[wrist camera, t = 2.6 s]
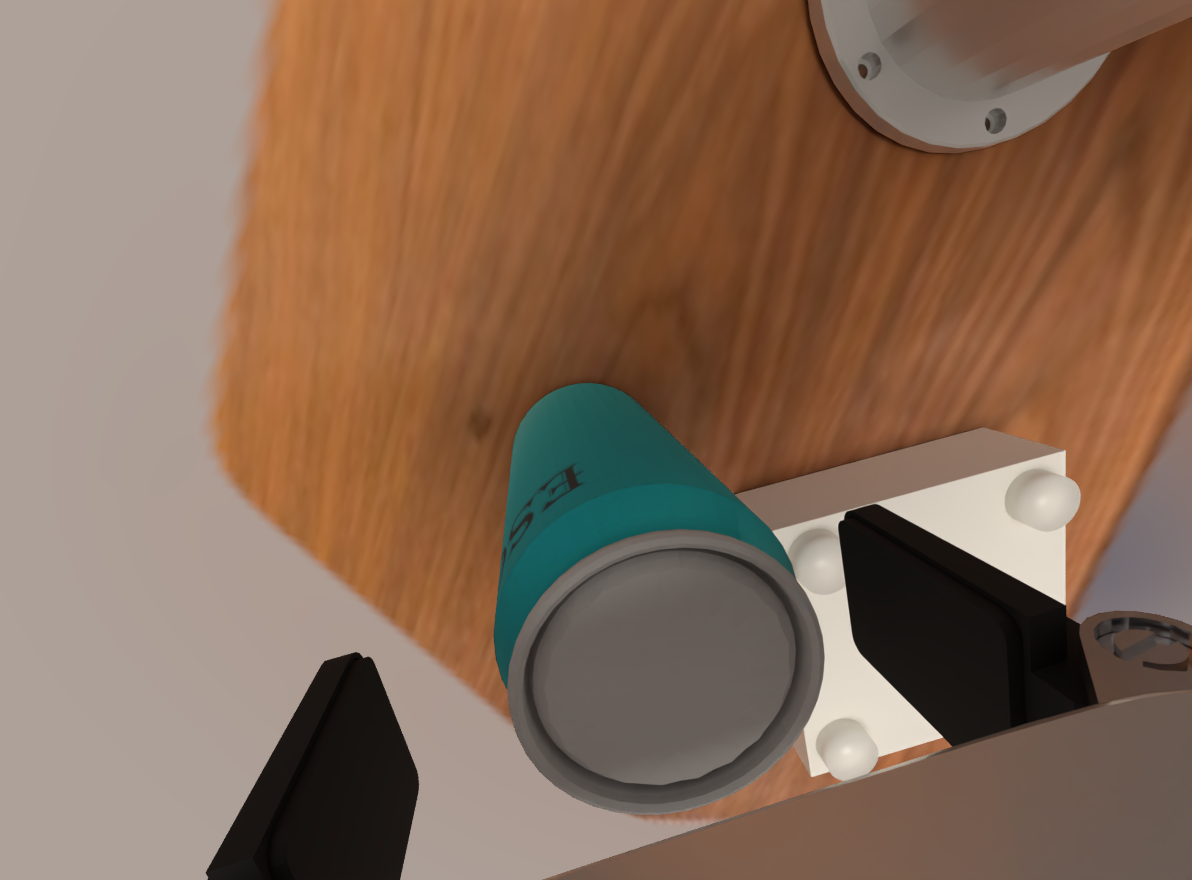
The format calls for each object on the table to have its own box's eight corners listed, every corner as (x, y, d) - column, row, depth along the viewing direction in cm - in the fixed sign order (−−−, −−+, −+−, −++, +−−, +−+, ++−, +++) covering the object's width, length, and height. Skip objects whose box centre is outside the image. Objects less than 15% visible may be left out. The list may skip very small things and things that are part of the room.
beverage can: (489, 473, 23) (423, 768, 8) (554, 351, 22) (604, 450, 8) (607, 529, 24) (725, 870, 10) (674, 416, 23) (911, 608, 9)
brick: (733, 494, 24) (784, 542, 20) (983, 427, 25) (1090, 457, 20) (772, 710, 28) (823, 797, 23) (992, 646, 28) (1087, 716, 24)
